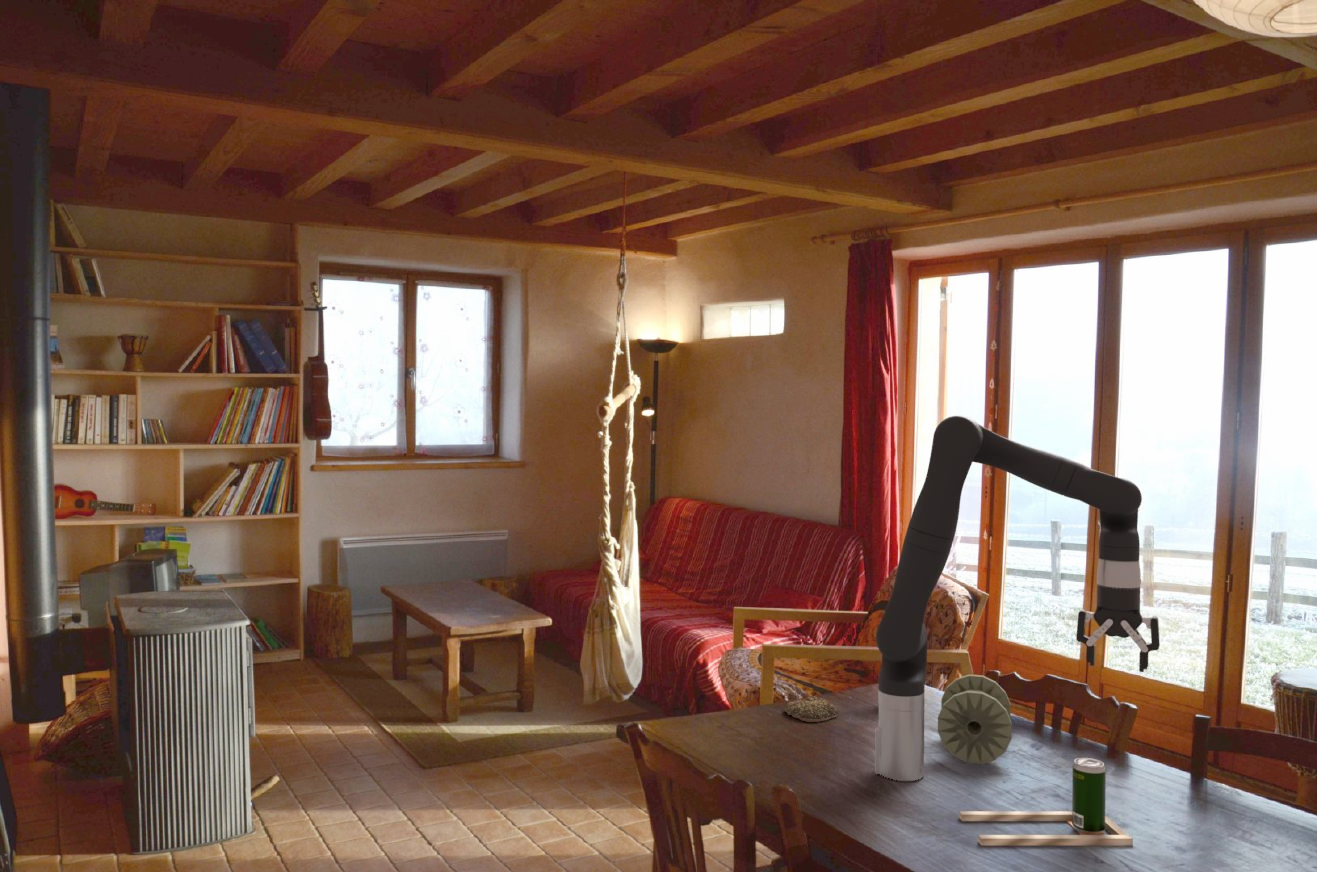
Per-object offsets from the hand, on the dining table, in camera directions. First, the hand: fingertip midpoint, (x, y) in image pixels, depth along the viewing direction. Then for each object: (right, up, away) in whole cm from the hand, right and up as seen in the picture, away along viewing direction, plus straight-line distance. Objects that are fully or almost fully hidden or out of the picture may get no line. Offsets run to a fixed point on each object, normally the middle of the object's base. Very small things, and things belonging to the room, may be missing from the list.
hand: (1116, 668), depth 189 cm
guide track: (-19, -26, -13) cm, 35 cm away
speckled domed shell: (-49, -26, +58) cm, 80 cm away
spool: (-17, -26, +31) cm, 44 cm away
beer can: (-11, -26, -13) cm, 31 cm away
